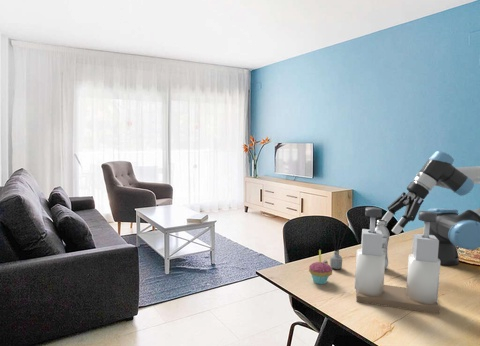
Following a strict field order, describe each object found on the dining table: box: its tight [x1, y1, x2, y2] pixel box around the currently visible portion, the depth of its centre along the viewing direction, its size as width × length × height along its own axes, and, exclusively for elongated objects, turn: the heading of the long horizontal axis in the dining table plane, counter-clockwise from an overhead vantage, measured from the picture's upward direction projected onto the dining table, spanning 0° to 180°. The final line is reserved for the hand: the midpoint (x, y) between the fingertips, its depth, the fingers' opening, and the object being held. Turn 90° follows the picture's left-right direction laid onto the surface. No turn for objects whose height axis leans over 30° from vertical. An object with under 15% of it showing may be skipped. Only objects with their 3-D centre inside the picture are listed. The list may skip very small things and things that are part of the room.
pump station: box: [354, 228, 441, 315], centre depth 111 cm, size 25×12×22 cm, turn 73°
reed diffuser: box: [322, 219, 350, 270], centre depth 136 cm, size 10×7×20 cm
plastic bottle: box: [375, 219, 390, 270], centre depth 137 cm, size 6×7×20 cm
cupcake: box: [308, 250, 334, 285], centre depth 124 cm, size 9×8×12 cm
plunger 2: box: [418, 210, 437, 238], centre depth 107 cm, size 5×5×9 cm
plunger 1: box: [364, 206, 383, 233], centre depth 111 cm, size 5×5×9 cm
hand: (387, 228), depth 135 cm, fingers open, 13 cm apart
